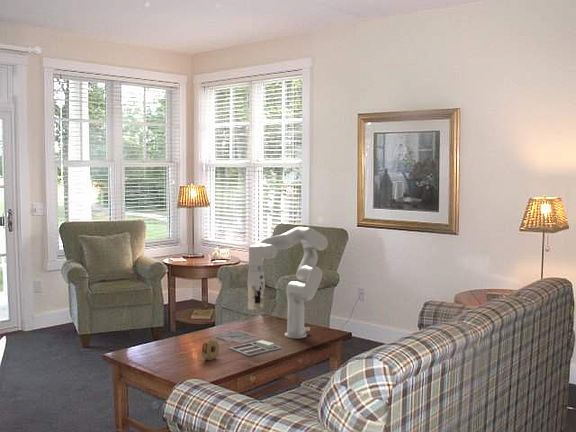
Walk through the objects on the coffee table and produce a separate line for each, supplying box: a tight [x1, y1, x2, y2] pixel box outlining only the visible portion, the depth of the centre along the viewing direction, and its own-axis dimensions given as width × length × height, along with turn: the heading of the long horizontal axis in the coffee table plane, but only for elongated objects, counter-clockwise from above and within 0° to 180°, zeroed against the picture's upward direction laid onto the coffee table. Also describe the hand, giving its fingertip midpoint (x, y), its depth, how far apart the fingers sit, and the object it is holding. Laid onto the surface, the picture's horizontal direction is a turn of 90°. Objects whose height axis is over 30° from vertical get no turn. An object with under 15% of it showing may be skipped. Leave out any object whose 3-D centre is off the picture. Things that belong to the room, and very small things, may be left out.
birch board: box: [247, 286, 264, 311], centre depth 335 cm, size 8×3×12 cm, turn 131°
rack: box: [228, 339, 283, 358], centre depth 329 cm, size 22×17×2 cm
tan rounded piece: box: [201, 338, 220, 361], centre depth 314 cm, size 10×4×10 cm, turn 143°
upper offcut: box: [255, 339, 275, 350], centre depth 333 cm, size 4×9×2 cm, turn 50°
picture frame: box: [215, 329, 264, 344], centre depth 352 cm, size 16×2×22 cm
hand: (255, 302), depth 336 cm, fingers closed on birch board, 3 cm apart
